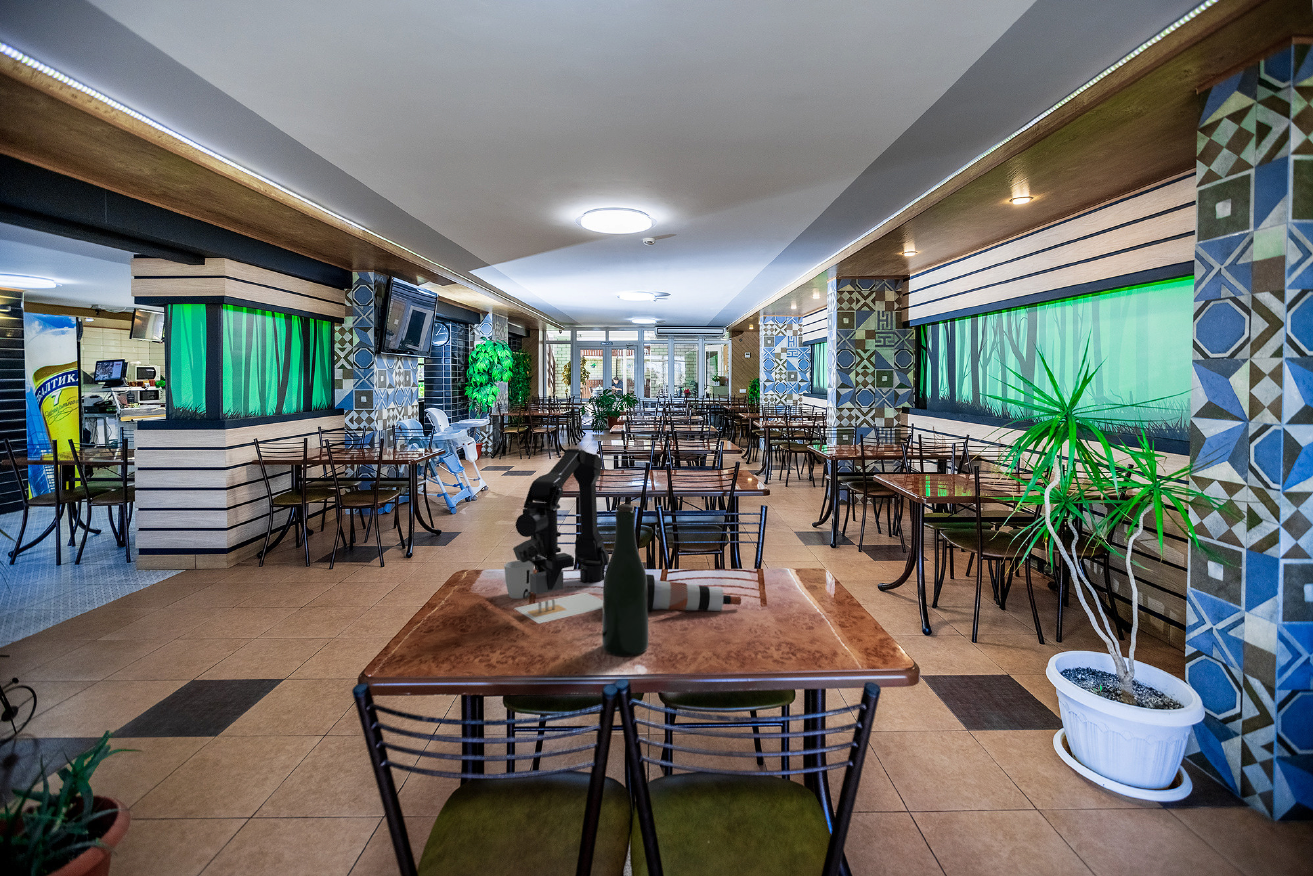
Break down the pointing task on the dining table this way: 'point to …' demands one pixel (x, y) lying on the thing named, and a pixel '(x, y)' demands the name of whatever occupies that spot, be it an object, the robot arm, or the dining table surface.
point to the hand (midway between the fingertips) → (546, 587)
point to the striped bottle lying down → (686, 596)
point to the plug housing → (544, 583)
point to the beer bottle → (625, 592)
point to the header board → (561, 607)
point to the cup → (518, 578)
